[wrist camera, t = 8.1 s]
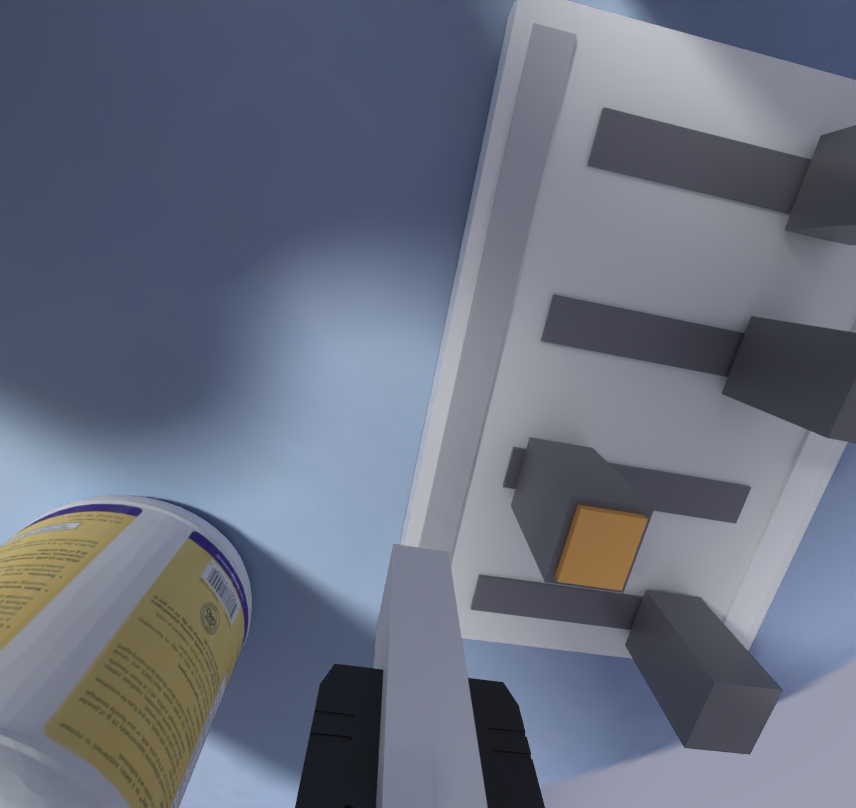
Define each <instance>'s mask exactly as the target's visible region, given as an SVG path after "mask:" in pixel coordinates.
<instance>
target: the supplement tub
mask: <svg viewBox="0 0 856 808" xmlns="http://www.w3.org/2000/svg"><path fill="white" fill-rule="evenodd" d="M251 613H252V593H251V586H250V581H249V577H248V574H247V571H246V568H245V566H244V564H243V561H242V559H241V557H240V556H239V554H238V552H237V551H236V549H235V548H234V546H233V545H232V544H231V543H230V542H229V541H228V539H227V538H226V537H225V536H224V535H223V534H221V533H220V532H219V531H218V530H217V529H216V528H215V527H213V526H212V525H211V524H209V523H208V522H207V521H205V520H203V519H202V518H200V517H199V516H197V515H195V514H194V513H192V512H190V511H187V510H185V509H183V508H181V507H179V506H176V505H173V504H170V503H167V502H164V501H160V500H157V499H152V498H147V497H140V496H132V495H108V496H98V497H91V498H87V499H82V500H78V501H75V502H72V503H69V504H66V505H64V506H61V507H59V508H57V509H55V510H52V511H50V512H48V513H46V514H44V515H42V516H40V517H39V518H37V519H35V520H34V521H32V522H31V523H30V524H28V525H27V526H26V527H25V528H23V529H22V530H21V531H20V532H19V533H17V534H16V535H15V536H13V537H12V538H11V539H9V540H8V541H6V542H5V543H4V544H2V545H1V546H0V808H179V806H180V803H181V801H182V798H183V796H184V793H185V790H186V788H187V785H188V783H189V780H190V778H191V775H192V773H193V770H194V768H195V765H196V763H197V760H198V758H199V755H200V753H201V750H202V748H203V745H204V743H205V740H206V738H207V735H208V732H209V730H210V727H211V725H212V722H213V720H214V717H215V715H216V712H217V710H218V707H219V705H220V702H221V700H222V697H223V695H224V692H225V690H226V687H227V685H228V682H229V680H230V677H231V675H232V672H233V670H234V667H235V664H236V662H237V659H238V657H239V654H240V652H241V650H242V648H243V646H244V644H245V642H246V639H247V636H248V633H249V628H250V623H251Z"/></svg>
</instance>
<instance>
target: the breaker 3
mask: <svg viewBox="0 0 856 808" xmlns="http://www.w3.org/2000/svg"><path fill="white" fill-rule="evenodd" d="M785 231H790V232H794V233H798V234H802V235H807V236H811V237H815V238H820V239H824V240H828V241H833V242H837V243H841V244H845V245H856V125H854V126H851V127H848V128H844V129H841V130H837V131H834V132H831V133H827V134H824V135H821V136H820V139H819V141H818V144H817V146H816V149H815V152H814V154H813V157H812V159H811V162H810V165H809V167H808V170H807V172H806V175H805V178H804V180H803V183H802V185H801V188H800V191H799V193H798V196H797V198H796V201H795V204H794V206H793V209H792V211H791V214H790V217H789V219H788V222H787V224H786V227H785Z"/></svg>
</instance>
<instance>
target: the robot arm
mask: <svg viewBox="0 0 856 808" xmlns="http://www.w3.org/2000/svg"><path fill="white" fill-rule="evenodd" d="M295 808H545V806H544V802H543V798H542V795H541V791H540V787H539V783H538V779H537V775H536V771H535V768H534V764H533V760H532V759H531V752H530V748H529V744H528V740H527V737H525V729H524V725H523V721H522V717H521V713H520V709H519V706H518V704H517V702H516V701H515V699H514V698H513V696H512V695H511V693H510V692H509V690H508V689H507V687H506V686H505V684H504V683H503V682H497V681H489V680H480V679H472V678H468V676H467V669H466V663H465V656H464V650H463V643H462V637H461V630H460V623H459V617H458V610H457V604H456V597H455V591H454V584H453V578H452V571H451V564H450V558H449V552H446V551H439V550H432V549H425V548H418V547H411V546H404V545H398V544H393V548H392V553H391V558H390V563H389V568H388V573H387V578H386V583H385V588H384V593H383V598H382V603H381V608H380V613H379V618H378V623H377V628H376V641H375V653H374V666H373V668H365V667H357V666H348V665H340V664H334V666H333V667H332V669H331V670H330V671H329V673H328V674H327V676H326V677H325V678H324V680H323V681H322V683H321V684H320V688H319V693H318V698H317V702H316V707H315V713H314V717H313V722H312V727H311V732H310V737H309V742H308V747H307V752H306V757H305V762H304V766H303V771H302V776H301V781H300V786H299V791H298V796H297V801H296V806H295Z"/></svg>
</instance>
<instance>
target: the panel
mask: <svg viewBox="0 0 856 808" xmlns="http://www.w3.org/2000/svg"><path fill="white" fill-rule="evenodd" d="M854 125H856V80H854V79H850V78H847V77H843V76H839V75H836V74H832V73H829V72H825V71H821V70H818V69H814V68H810V67H807V66H803V65H800V64H796V63H792V62H789V61H785V60H781V59H778V58H774V57H770V56H767V55H763V54H760V53H756V52H752V51H749V50H745V49H741V48H738V47H734V46H731V45H727V44H723V43H720V42H716V41H712V40H709V39H705V38H702V37H698V36H694V35H691V34H687V33H683V32H680V31H676V30H672V29H669V28H665V27H662V26H658V25H654V24H651V23H647V22H643V21H640V20H636V19H633V18H629V17H625V16H622V15H618V14H614V13H611V12H607V11H604V10H600V9H596V8H593V7H589V6H585V5H582V4H578V3H574V2H571V1H567V0H515V2H514V4H513V7H512V9H511V11H510V13H509V16H508V21H507V25H506V30H505V35H504V40H503V45H502V50H501V55H500V60H499V64H498V69H497V74H496V79H495V84H494V89H493V94H492V99H491V103H490V108H489V113H488V118H487V123H486V128H485V133H484V137H483V142H482V147H481V152H480V157H479V162H478V167H477V172H476V176H475V181H474V186H473V191H472V196H471V201H470V206H469V210H468V215H467V220H466V225H465V230H464V235H463V240H462V245H461V249H460V254H459V259H458V264H457V269H456V274H455V279H454V283H453V288H452V293H451V298H450V303H449V308H448V313H447V318H446V322H445V327H444V332H443V337H442V342H441V347H440V352H439V357H438V361H437V366H436V371H435V376H434V381H433V386H432V391H431V395H430V400H429V405H428V410H427V415H426V420H425V425H424V430H423V434H422V439H421V444H420V449H419V454H418V459H417V464H416V468H415V473H414V478H413V483H412V488H411V493H410V498H409V503H408V507H407V512H406V517H405V522H404V527H403V532H402V537H401V542H400V545H404V546H411V547H418V548H425V549H432V550H439V551H446V552H449V558H450V564H451V571H452V578H453V584H454V591H455V597H456V604H457V610H458V617H459V623H460V630H461V637H462V638H463V639H471V640H480V641H488V642H496V643H505V644H513V645H522V646H530V647H538V648H547V649H555V650H564V651H572V652H580V653H589V654H597V655H605V656H614V657H622V658H631V659H633V658H632V657H631V655H630V653H629V651H628V650H627V648H626V646H625V644H626V641H627V638H628V636H629V633H630V631H631V628H632V625H633V623H634V620H635V618H636V615H637V612H638V610H639V607H640V605H641V602H642V599H643V597H644V594H645V592H646V590H650V591H657V592H665V593H672V594H679V595H687V596H694V597H700V598H701V599H702V600H703V601H704V602H705V603H706V604H707V605H708V607H709V608H710V609H711V610H712V611H713V612H714V613H715V614H716V616H717V617H718V618H719V619H720V620H721V621H722V622H723V623H724V625H725V626H726V627H727V628H728V629H729V630H730V631H731V632H732V634H733V635H734V636H735V637H736V638H737V639H738V640H739V641H740V643H741V644H742V645H743V646H744V647H745V648H746V649H747V650H748V651H749V649H750V647H751V645H752V642H753V640H754V638H755V636H756V634H757V632H758V630H759V628H760V626H761V624H762V621H763V619H764V617H765V615H766V613H767V611H768V609H769V607H770V605H771V603H772V600H773V598H774V596H775V594H776V592H777V590H778V588H779V586H780V584H781V582H782V579H783V577H784V575H785V573H786V571H787V569H788V567H789V565H790V563H791V561H792V558H793V556H794V554H795V552H796V550H797V548H798V546H799V544H800V542H801V540H802V537H803V535H804V533H805V531H806V529H807V527H808V525H809V523H810V521H811V518H812V516H813V514H814V512H815V510H816V508H817V506H818V504H819V502H820V500H821V497H822V495H823V493H824V491H825V489H826V487H827V485H828V483H829V481H830V479H831V476H832V474H833V472H834V470H835V468H836V466H837V464H838V462H839V460H840V458H841V455H842V453H843V451H844V449H845V447H846V445H847V443H848V442H846V441H840V440H835V439H829V438H826V437H824V436H821V435H819V434H816V433H814V432H812V431H809V430H807V429H804V428H802V427H800V426H797V425H795V424H792V423H790V422H788V421H785V420H783V419H780V418H778V417H776V416H773V415H771V414H768V413H766V412H764V411H761V410H759V409H757V408H754V407H752V406H749V405H747V404H745V403H742V402H740V401H737V400H735V399H733V398H730V397H728V396H725V395H723V394H722V391H723V389H724V386H725V383H726V381H727V378H728V375H729V373H730V370H731V368H732V365H733V362H734V360H735V357H736V355H737V352H738V349H739V347H740V344H741V342H742V339H743V336H744V334H745V331H746V329H747V326H748V323H749V321H750V318H751V316H755V317H761V318H767V319H773V320H780V321H786V322H792V323H798V324H805V325H811V326H817V327H824V328H830V329H836V330H842V331H849V332H855V333H856V245H845V244H841V243H837V242H833V241H828V240H824V239H820V238H815V237H811V236H807V235H802V234H798V233H794V232H790V231H785V227H786V224H787V222H788V219H789V217H790V214H791V211H792V209H793V206H794V204H795V201H796V198H797V196H798V193H799V191H800V188H801V185H802V183H803V180H804V178H805V175H806V172H807V170H808V167H809V165H810V162H811V159H812V157H813V154H814V152H815V149H816V146H817V144H818V141H819V139H820V136H821V135H824V134H827V133H831V132H834V131H837V130H841V129H844V128H848V127H851V126H854ZM529 437H532V438H538V439H544V440H550V441H555V442H561V443H567V444H573V445H579V446H585V447H591V448H593V449H594V450H595V451H596V452H597V453H598V454H599V455H600V456H601V457H603V458H604V459H605V460H606V461H607V462H608V463H609V464H610V465H611V466H612V467H613V468H614V469H615V470H616V471H617V472H618V473H619V474H620V475H621V476H622V477H623V478H624V479H625V480H626V481H627V482H628V483H629V484H630V485H631V486H632V487H633V488H634V489H635V490H636V491H637V492H638V493H639V494H640V495H641V496H642V497H643V498H644V499H645V500H646V501H647V502H648V503H650V504H651V505H652V506H653V507H654V511H653V514H652V516H651V519H650V522H649V525H648V527H647V530H646V533H645V535H644V538H643V541H642V544H641V546H640V549H639V552H638V554H637V557H636V560H635V563H634V565H633V568H632V571H631V573H630V576H629V579H628V582H627V584H626V587H625V590H624V592H623V593H620V592H612V591H605V590H598V589H590V588H583V587H575V586H568V585H561V584H553V583H546V582H544V579H543V577H542V575H541V573H540V570H539V568H538V566H537V564H536V561H535V559H534V557H533V555H532V553H531V550H530V548H529V546H528V544H527V541H526V539H525V537H524V535H523V532H522V530H521V528H520V526H519V523H518V521H517V519H516V517H515V514H514V512H513V510H512V508H511V503H512V499H513V496H514V492H515V488H516V485H517V481H518V478H519V474H520V470H521V467H522V463H523V459H524V456H525V452H526V448H527V445H528V441H529Z"/></svg>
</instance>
